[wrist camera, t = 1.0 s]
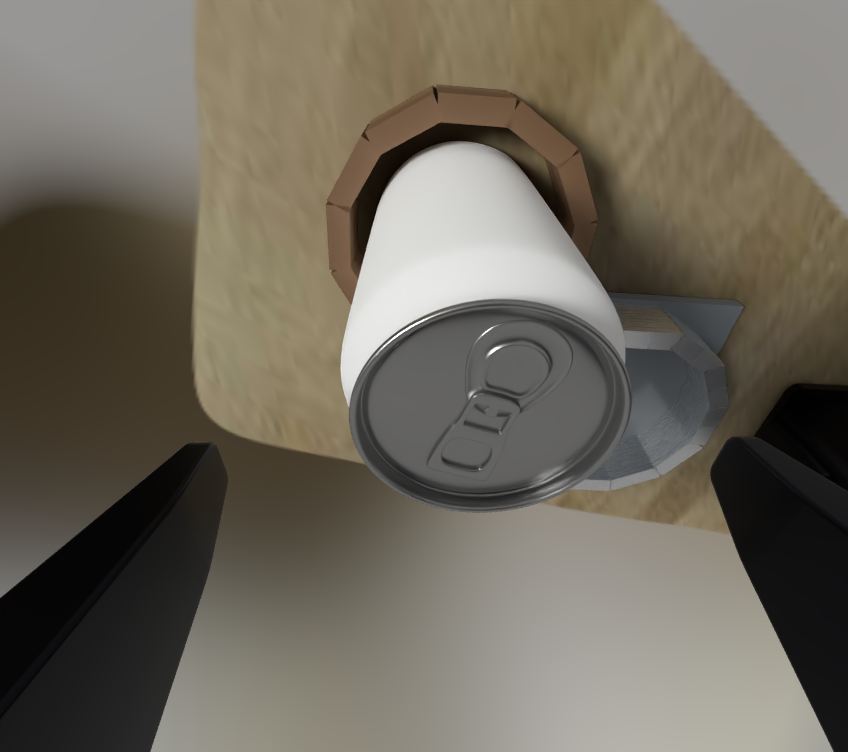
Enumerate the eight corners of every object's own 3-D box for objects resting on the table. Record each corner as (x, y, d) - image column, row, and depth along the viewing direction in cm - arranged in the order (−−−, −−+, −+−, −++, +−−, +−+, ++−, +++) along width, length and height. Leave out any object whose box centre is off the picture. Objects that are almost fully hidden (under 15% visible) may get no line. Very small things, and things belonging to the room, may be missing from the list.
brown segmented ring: (607, 98, 16) (632, 107, 14) (545, 333, 22) (557, 362, 20) (331, 76, 16) (319, 82, 14) (342, 320, 22) (334, 349, 20)
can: (566, 173, 18) (733, 344, 8) (495, 314, 21) (552, 546, 12) (405, 109, 16) (378, 220, 7) (358, 270, 20) (298, 490, 11)
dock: (736, 300, 21) (777, 335, 19) (655, 455, 27) (678, 496, 25) (517, 286, 21) (529, 320, 18) (484, 446, 27) (490, 488, 24)
